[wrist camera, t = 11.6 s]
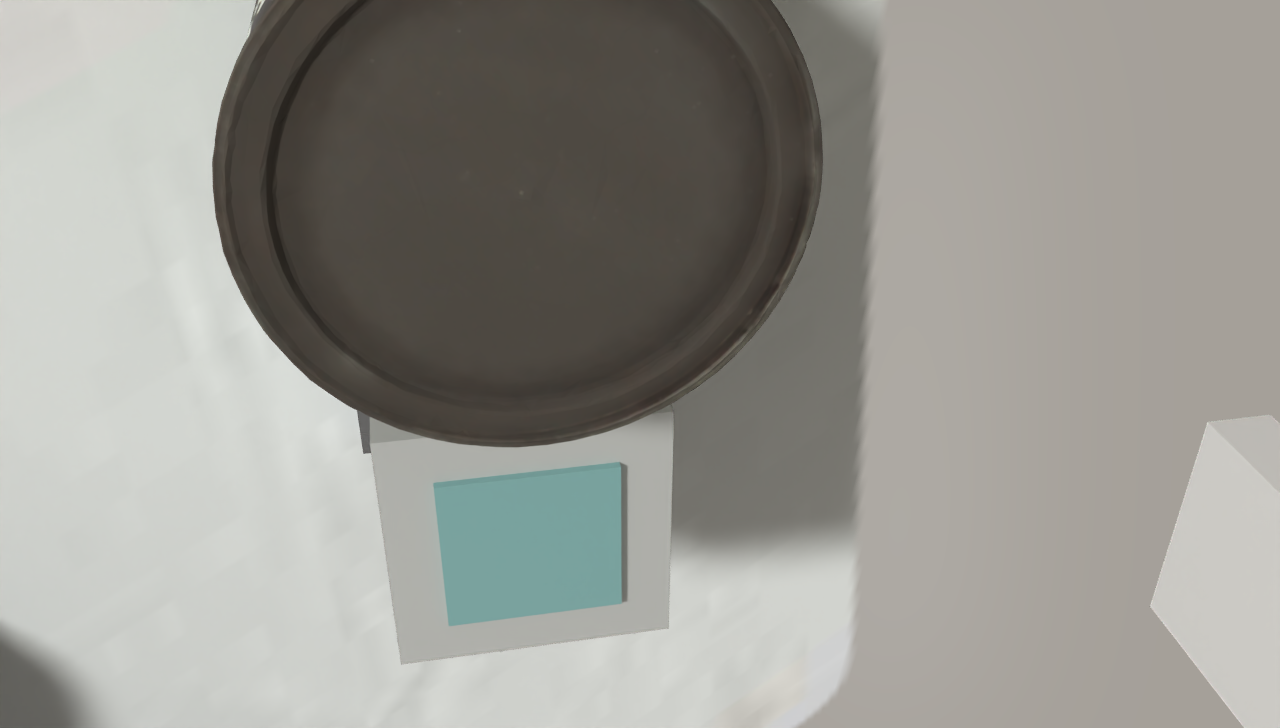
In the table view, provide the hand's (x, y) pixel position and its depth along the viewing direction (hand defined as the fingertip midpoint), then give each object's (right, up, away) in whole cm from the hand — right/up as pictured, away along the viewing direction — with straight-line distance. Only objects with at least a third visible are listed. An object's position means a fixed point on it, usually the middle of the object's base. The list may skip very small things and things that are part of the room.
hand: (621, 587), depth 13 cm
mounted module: (-4, +3, +25) cm, 26 cm away
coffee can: (-4, +13, +20) cm, 24 cm away
